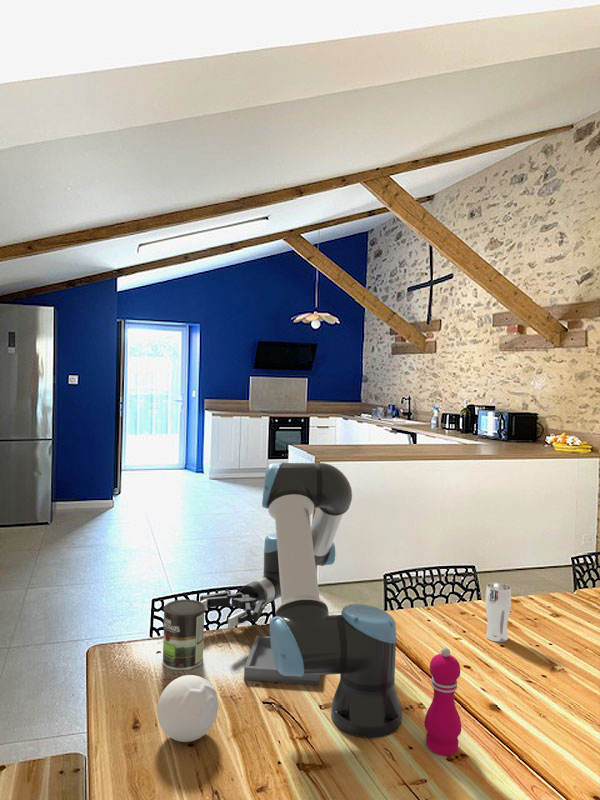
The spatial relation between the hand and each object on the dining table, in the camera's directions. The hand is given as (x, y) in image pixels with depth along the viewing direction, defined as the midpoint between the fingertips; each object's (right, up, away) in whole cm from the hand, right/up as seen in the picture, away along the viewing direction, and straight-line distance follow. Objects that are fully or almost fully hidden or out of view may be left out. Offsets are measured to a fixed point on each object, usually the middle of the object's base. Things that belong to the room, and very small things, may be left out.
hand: (209, 617), depth 160 cm
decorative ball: (+2, -10, -40) cm, 41 cm away
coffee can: (-5, -8, -8) cm, 13 cm away
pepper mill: (+53, -11, -41) cm, 68 cm away
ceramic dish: (+21, -9, -9) cm, 24 cm away
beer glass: (+81, -10, +11) cm, 82 cm away
